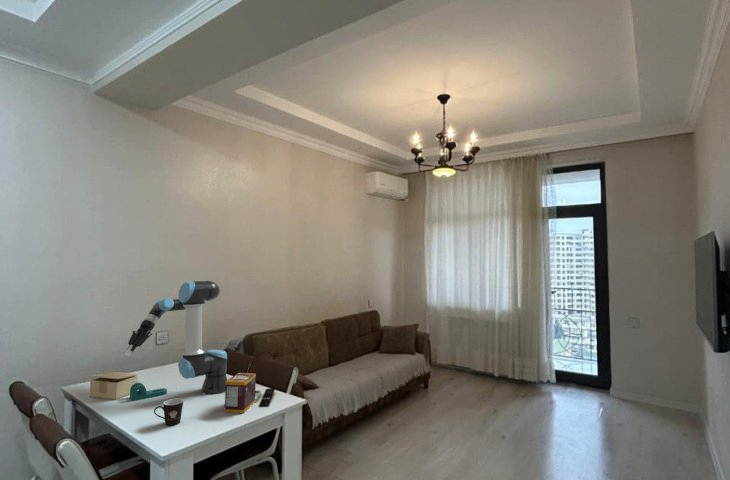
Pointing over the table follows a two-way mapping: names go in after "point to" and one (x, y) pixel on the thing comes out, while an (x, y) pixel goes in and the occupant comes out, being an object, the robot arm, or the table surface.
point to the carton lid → (114, 375)
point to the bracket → (144, 392)
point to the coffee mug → (171, 411)
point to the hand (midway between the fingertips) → (126, 355)
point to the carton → (111, 387)
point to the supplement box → (240, 392)
